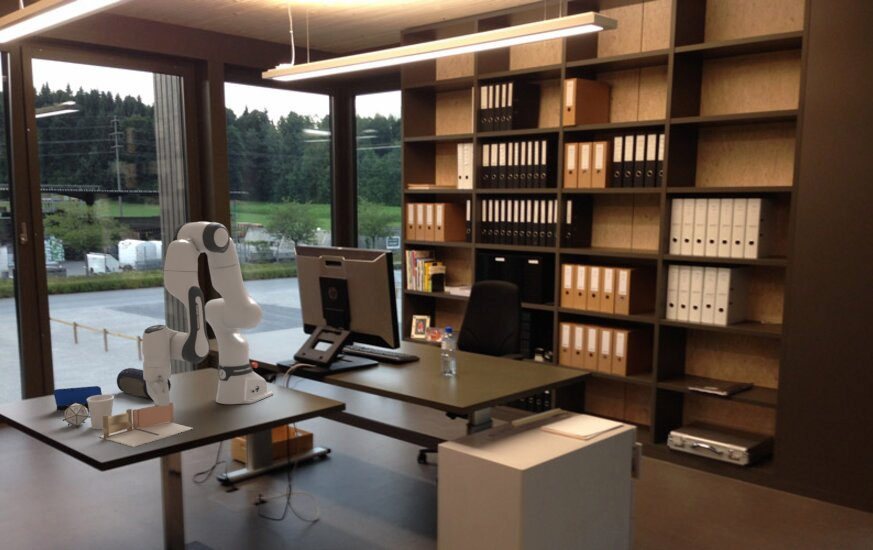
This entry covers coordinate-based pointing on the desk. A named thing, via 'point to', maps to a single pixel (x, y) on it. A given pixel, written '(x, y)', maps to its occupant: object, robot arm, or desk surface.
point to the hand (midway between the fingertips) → (158, 413)
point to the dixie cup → (99, 409)
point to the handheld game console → (75, 396)
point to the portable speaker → (134, 382)
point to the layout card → (146, 433)
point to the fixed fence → (117, 423)
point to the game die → (76, 414)
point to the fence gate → (153, 415)
